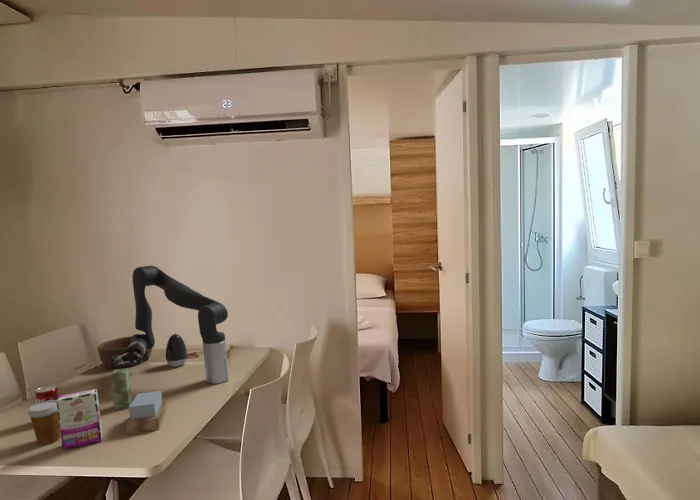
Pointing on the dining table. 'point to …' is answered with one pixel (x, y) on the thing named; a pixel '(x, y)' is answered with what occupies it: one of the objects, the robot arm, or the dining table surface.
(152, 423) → the tower base
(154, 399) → the blue gray tower block
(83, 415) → the candy bar box
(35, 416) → the disposable coffee cup
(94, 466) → the dining table surface
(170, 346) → the black egg shape
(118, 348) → the wooden bowl
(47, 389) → the soda can
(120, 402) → the olive block
